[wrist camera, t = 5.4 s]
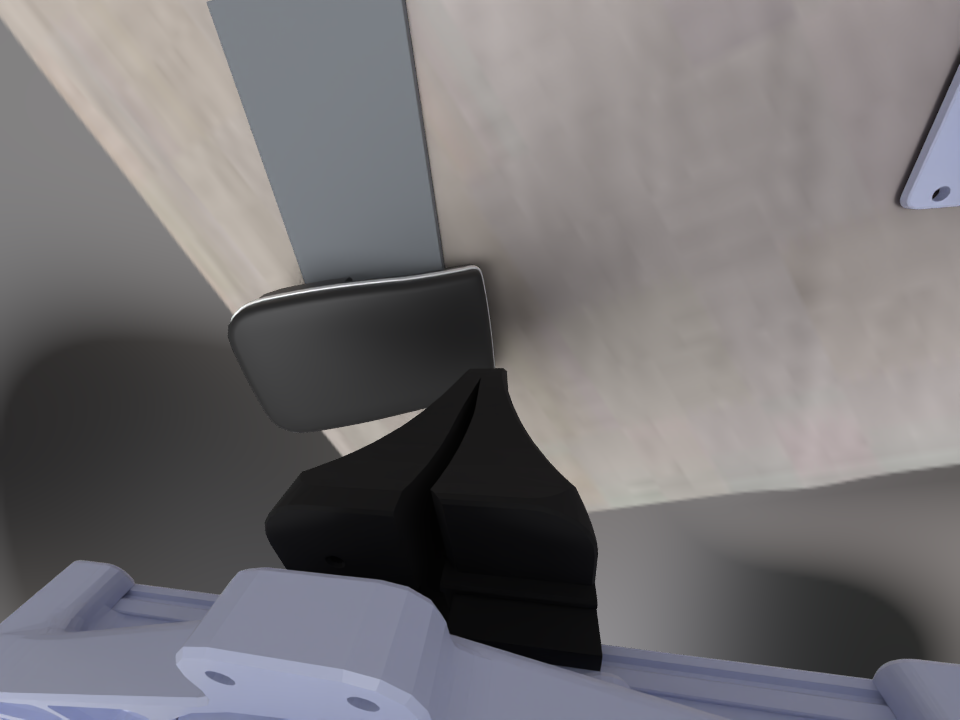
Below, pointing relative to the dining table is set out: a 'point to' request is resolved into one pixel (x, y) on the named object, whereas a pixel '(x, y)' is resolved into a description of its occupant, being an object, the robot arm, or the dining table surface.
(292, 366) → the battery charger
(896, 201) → the dining table surface
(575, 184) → the dining table surface
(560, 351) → the dining table surface
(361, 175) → the mat
